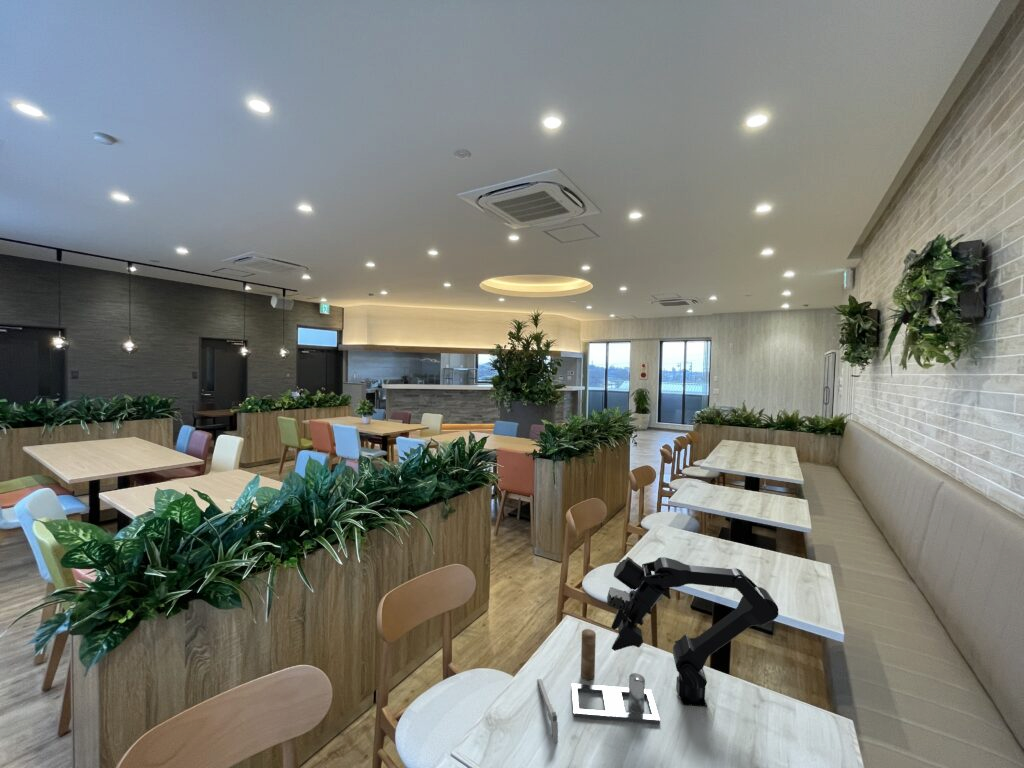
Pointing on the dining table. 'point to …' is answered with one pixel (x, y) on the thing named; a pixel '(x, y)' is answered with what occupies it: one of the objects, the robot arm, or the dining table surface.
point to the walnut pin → (588, 654)
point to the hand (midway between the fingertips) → (612, 638)
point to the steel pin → (636, 692)
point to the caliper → (549, 711)
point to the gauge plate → (613, 705)
